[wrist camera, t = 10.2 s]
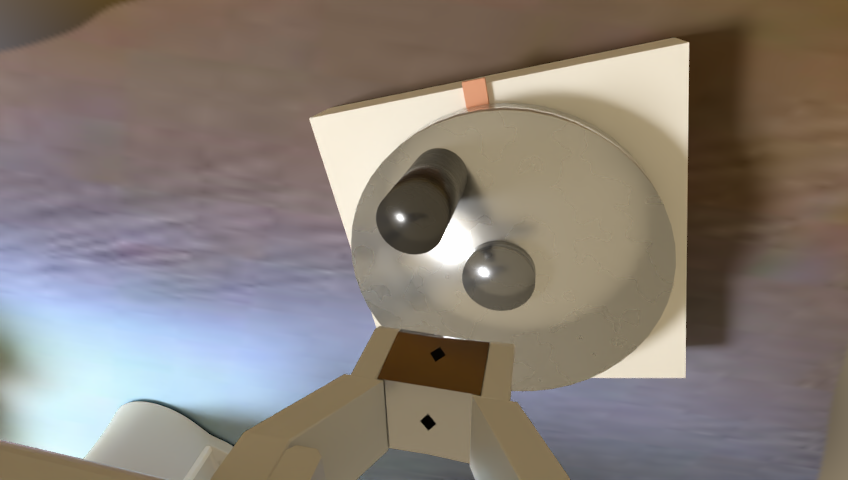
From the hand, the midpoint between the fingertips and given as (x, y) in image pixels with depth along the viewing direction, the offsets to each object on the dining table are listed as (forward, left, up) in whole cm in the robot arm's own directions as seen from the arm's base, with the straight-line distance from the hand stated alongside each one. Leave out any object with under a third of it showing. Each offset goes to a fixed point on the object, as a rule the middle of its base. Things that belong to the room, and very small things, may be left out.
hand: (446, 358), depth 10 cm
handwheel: (-7, +1, -17) cm, 19 cm away
